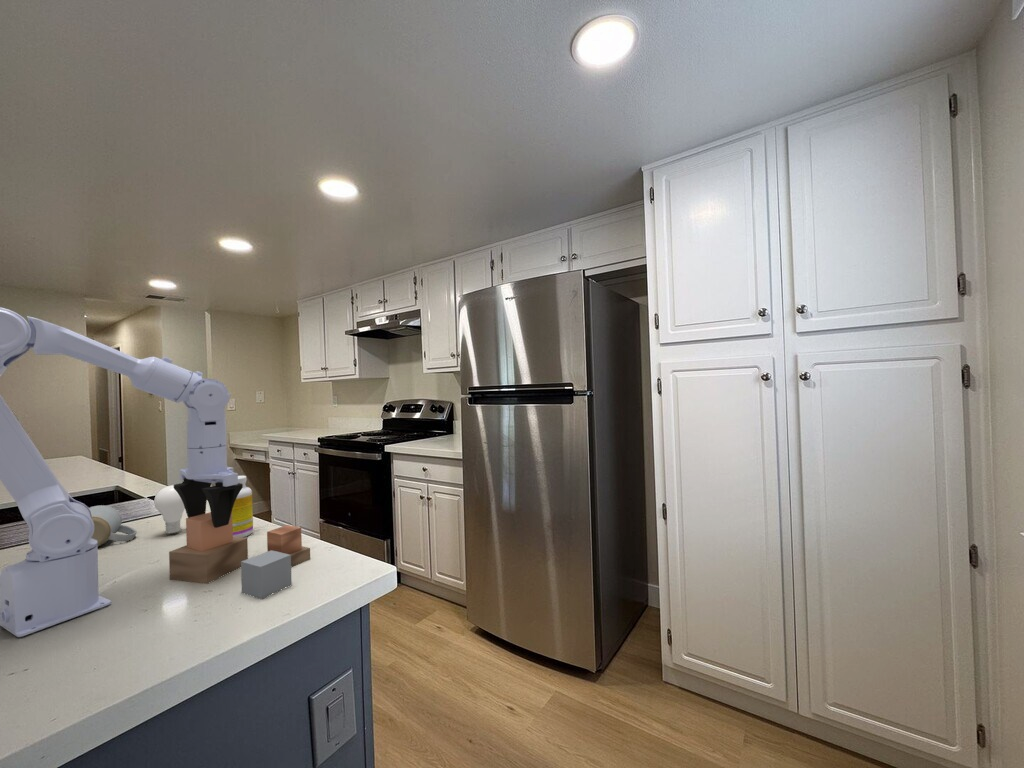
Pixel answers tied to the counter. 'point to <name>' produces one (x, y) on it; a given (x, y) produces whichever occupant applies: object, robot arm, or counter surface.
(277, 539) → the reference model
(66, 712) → the counter surface
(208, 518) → the terracotta block
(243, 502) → the supplement bottle
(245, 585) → the grey block
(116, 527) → the ceramic mug
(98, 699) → the counter surface
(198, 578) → the walnut base
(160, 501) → the lightbulb
